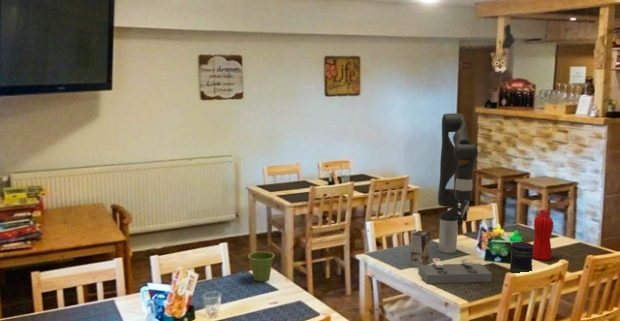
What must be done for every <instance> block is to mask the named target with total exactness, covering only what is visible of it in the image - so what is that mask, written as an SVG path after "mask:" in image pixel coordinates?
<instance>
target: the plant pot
mask: <svg viewBox="0 0 620 321" xmlns="http://www.w3.org/2000/svg"><path fill="white" fill-rule="evenodd" d="M247 257H248V259H249V262H250V264H251V271H252V277H253V280H254V281H255V282H257V281H258V282H267V281H269V280H270V276H271V271H272V264H273V262H274V258H275V254H274V253H272V252H270V251H254V252H251V253H249V254H248V256H247Z"/></svg>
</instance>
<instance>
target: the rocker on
mask: <svg viewBox="0 0 620 321" xmlns="http://www.w3.org/2000/svg"><path fill="white" fill-rule="evenodd" d="M460 263H464V264H465V265H473V264H474V263H473V261H471V260H469V259H467V258H466V259H463V258H462V259H460Z"/></svg>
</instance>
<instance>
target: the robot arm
mask: <svg viewBox="0 0 620 321" xmlns="http://www.w3.org/2000/svg"><path fill="white" fill-rule="evenodd" d="M466 121H467V120H466V117H465V115H464V114H463V113H461V112H460V113H459V112H458V113H457V112H455V113H444V114H443V115H442V118H441V150H440V163H439V164H440V165H439V166H440V169H439V170H440V171H439V173H440V174H439V184H438V193H437V203H438V205H439V207H449V209H447V210H446V211H443V212H441V213H440V214H439V215H440V216H439V236H438V251H439V252H440V253H446V254H454V253H456V252H457V248H458V247H457V244H458V228H459V227H458V226H463V225H464V224H463V222H467V221H468V213H469V210H470V200H472V199H473V187H474V186H473V175H474V174H473V173H474V172H473V171H474V166H475V163H476V160H477V157H478V154H479V149H478V147H477V145H475V144H471V141H470V138H469V136H468V128H467V122H466ZM450 133H454V134H453V136H452V140H451V138H450V135H449V134H450ZM452 141H453V142H452ZM460 161H467V162H466V163H463V164H460ZM455 174H456V176H455ZM454 176H455V177H456V179H455V187H454V188H447V186H448V185H447V184H448V183H449V181H450V180H451V179H452V178H453V177H454ZM450 207H451V208H450Z"/></svg>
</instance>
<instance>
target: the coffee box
mask: <svg viewBox="0 0 620 321" xmlns="http://www.w3.org/2000/svg"><path fill="white" fill-rule="evenodd" d="M430 240H431V231H426V230H417V231H415V232H414V233H411V245H410V248H411V249H410V264H409V266H410V267H412V268H413V267H414V268H419V265H429V263H430Z"/></svg>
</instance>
